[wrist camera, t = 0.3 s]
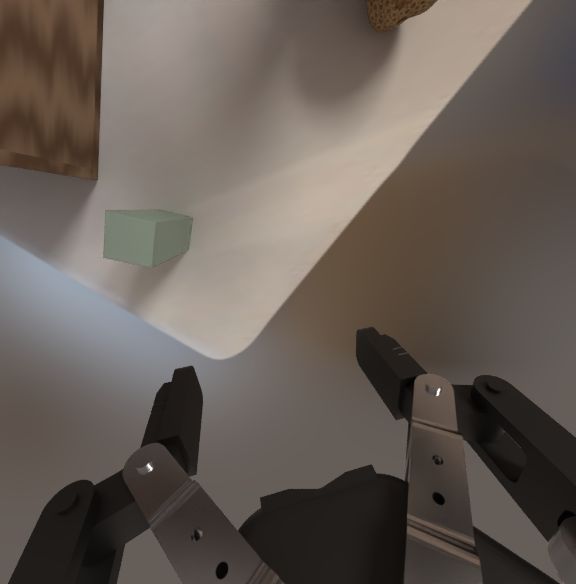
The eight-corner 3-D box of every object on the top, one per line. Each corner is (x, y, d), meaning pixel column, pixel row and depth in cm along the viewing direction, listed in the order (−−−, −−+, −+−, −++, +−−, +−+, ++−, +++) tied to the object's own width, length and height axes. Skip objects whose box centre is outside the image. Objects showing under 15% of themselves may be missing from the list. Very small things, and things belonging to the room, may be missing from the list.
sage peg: (159, 209, 35) (105, 210, 24) (192, 217, 36) (155, 222, 25) (156, 242, 37) (103, 257, 25) (188, 249, 37) (151, 267, 26)
